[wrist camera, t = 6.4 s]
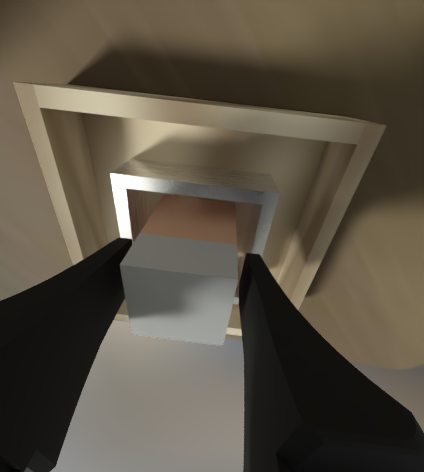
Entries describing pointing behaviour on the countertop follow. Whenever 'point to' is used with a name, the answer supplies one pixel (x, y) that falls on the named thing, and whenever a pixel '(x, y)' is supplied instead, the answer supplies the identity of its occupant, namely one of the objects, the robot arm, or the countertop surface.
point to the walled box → (199, 154)
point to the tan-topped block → (183, 271)
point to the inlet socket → (198, 185)
